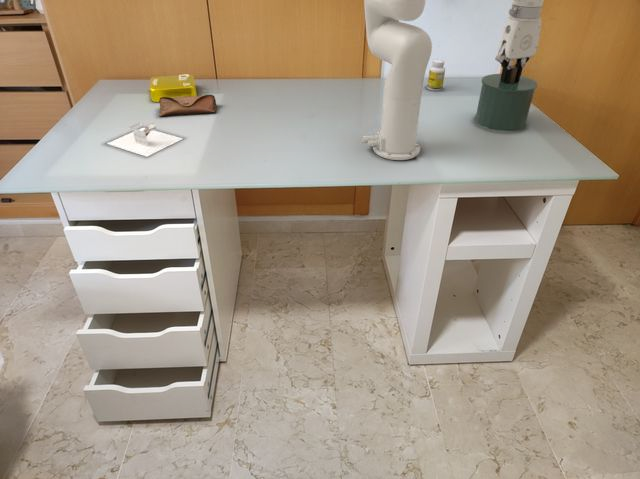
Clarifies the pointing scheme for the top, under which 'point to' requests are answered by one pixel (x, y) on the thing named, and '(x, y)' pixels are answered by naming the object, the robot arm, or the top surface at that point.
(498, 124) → the tin
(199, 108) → the sunglasses case
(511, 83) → the lid
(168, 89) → the yellow plastic box
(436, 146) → the top surface
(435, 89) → the supplement bottle
